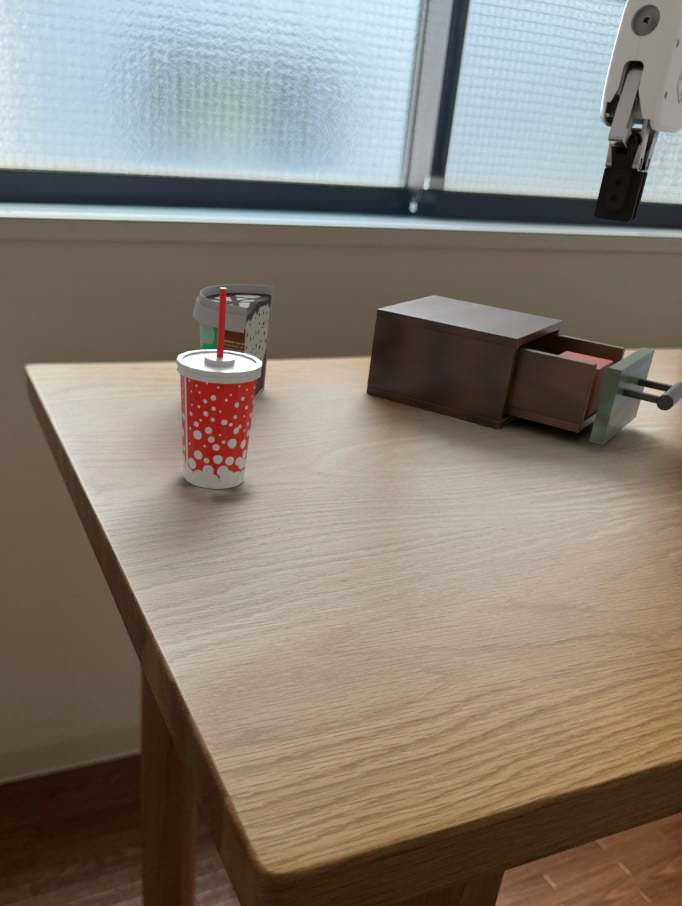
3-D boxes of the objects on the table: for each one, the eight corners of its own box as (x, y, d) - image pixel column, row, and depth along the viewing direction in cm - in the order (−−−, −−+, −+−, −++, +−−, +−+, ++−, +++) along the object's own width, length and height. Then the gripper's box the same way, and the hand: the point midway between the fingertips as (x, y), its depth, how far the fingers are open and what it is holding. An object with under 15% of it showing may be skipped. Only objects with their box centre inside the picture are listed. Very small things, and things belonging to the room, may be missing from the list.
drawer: (681, 428, 82) (702, 359, 79) (651, 458, 74) (674, 382, 71) (507, 386, 91) (520, 322, 88) (463, 408, 83) (476, 338, 79)
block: (601, 407, 83) (614, 360, 81) (587, 417, 79) (599, 369, 77) (555, 396, 85) (566, 350, 83) (539, 405, 82) (550, 358, 80)
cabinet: (544, 402, 90) (563, 320, 86) (498, 429, 80) (517, 338, 77) (421, 371, 97) (433, 295, 93) (365, 393, 88) (377, 308, 84)
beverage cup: (269, 485, 64) (284, 295, 58) (196, 498, 61) (204, 298, 54) (229, 457, 68) (239, 278, 62) (159, 468, 65) (163, 280, 59)
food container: (209, 377, 88) (214, 278, 84) (267, 385, 87) (274, 285, 83) (172, 411, 77) (175, 300, 73) (238, 421, 76) (245, 308, 72)
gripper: (706, -50, 59) (635, 230, 67) (743, -14, 70) (678, 221, 78) (598, -48, 63) (543, 217, 71) (649, -14, 74) (597, 211, 82)
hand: (614, 218), depth 75 cm, fingers closed
